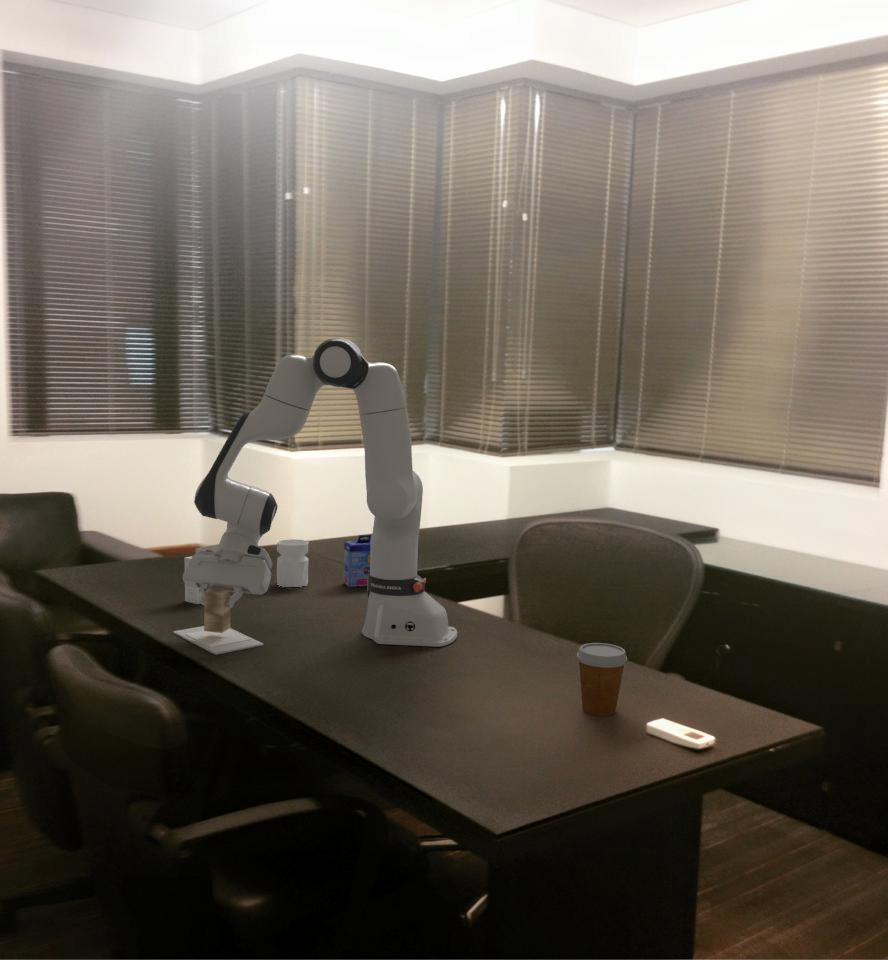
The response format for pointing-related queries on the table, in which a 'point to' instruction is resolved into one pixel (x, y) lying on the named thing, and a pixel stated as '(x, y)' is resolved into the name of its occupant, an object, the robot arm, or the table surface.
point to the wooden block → (216, 610)
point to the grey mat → (218, 640)
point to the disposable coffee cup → (600, 677)
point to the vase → (292, 563)
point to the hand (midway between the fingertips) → (216, 605)
